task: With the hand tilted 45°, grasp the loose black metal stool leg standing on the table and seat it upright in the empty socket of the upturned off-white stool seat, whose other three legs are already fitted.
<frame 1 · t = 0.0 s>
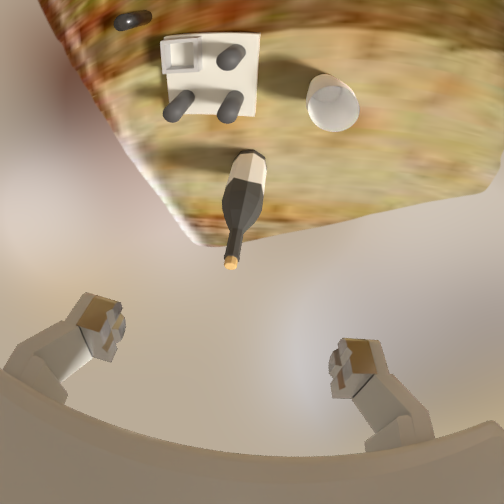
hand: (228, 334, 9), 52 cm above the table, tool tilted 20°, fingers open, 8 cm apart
black leg: (144, 17, 35), on the table
stool seat: (212, 72, 46), on the table
cup: (325, 88, 46), on the table
wine bottle: (250, 162, 64), on the table
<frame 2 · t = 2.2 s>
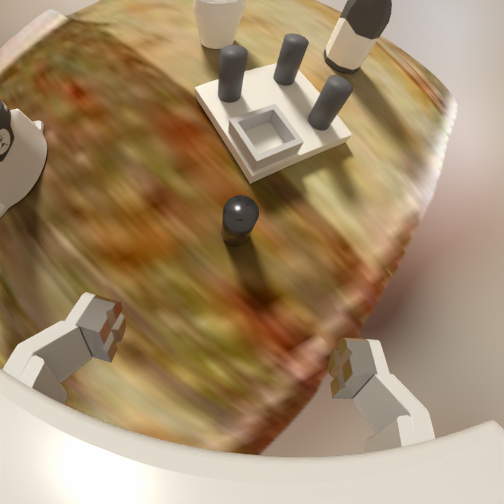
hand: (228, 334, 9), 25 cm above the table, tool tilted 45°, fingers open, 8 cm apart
black leg: (235, 233, 36), on the table
stool seat: (271, 116, 40), on the table
cup: (217, 41, 42), on the table
wine bottle: (340, 62, 45), on the table
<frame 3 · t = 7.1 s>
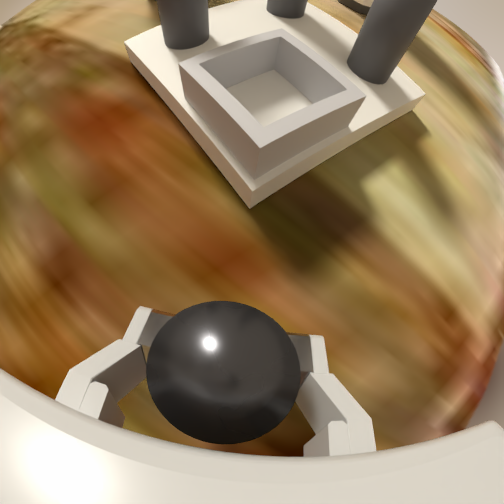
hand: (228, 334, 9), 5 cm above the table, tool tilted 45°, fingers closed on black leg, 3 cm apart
black leg: (228, 336, 14), on the table, touching gripper
stool seat: (274, 68, 18), on the table
wine bottle: (359, 5, 24), on the table
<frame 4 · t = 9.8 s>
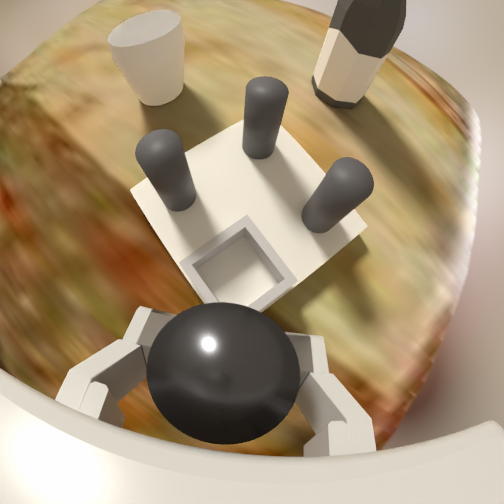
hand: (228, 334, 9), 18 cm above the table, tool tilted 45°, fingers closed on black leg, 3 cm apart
black leg: (228, 336, 14), point 13 cm above the table, touching gripper
stool seat: (247, 213, 29), on the table
cup: (161, 91, 33), on the table
wine bottle: (336, 91, 34), on the table
when the fingers open (9 cm above the table, at t = 12.8 s): black leg stays where it is, resting on stool seat.
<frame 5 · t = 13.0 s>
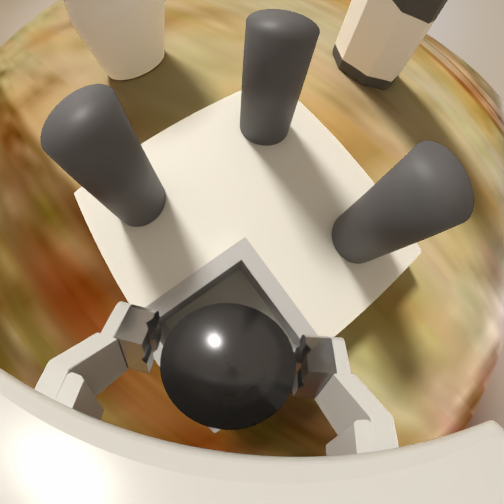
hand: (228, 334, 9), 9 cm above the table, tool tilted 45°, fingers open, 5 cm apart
black leg: (227, 334, 15), point 3 cm above the table, touching stool seat
stool seat: (246, 228, 19), on the table
cup: (135, 62, 22), on the table
wine bottle: (363, 67, 24), on the table
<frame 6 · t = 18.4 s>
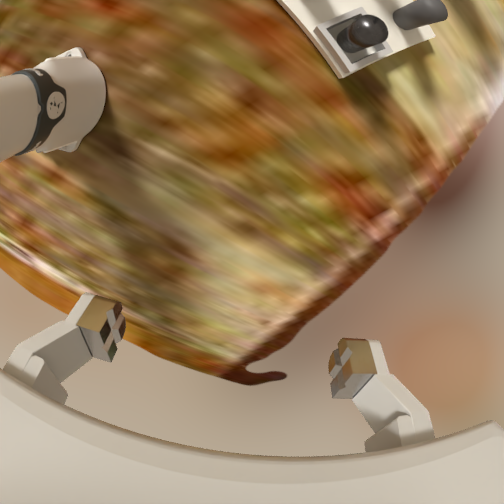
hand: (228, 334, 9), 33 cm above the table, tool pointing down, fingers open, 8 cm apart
black leg: (349, 41, 26), point 2 cm above the table, touching stool seat
stool seat: (352, 5, 24), on the table
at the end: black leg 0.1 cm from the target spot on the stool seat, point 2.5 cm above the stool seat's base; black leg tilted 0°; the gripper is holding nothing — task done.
